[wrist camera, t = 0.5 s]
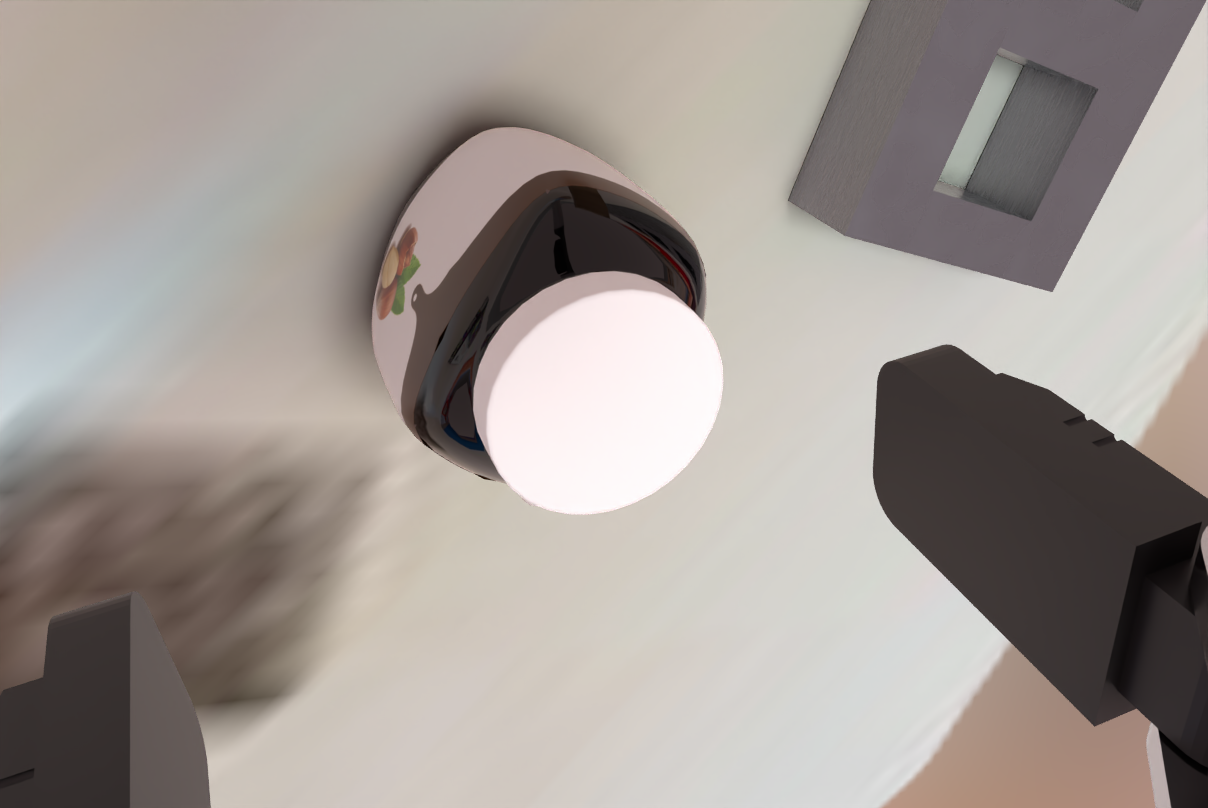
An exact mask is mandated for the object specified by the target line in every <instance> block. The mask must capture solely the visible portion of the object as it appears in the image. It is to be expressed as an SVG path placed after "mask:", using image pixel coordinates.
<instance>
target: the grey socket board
mask: <svg viewBox="0 0 1208 808" xmlns="http://www.w3.org/2000/svg"><path fill="white" fill-rule="evenodd" d="M1205 2H1206V0H871V2H870V5H869V7H868V9H867V12H866V14H865V17H864V19H863V21H862V24H861V26H860V29H859V31H858V33H857V36H856V38H855V41H854V43H853V46H852V48H851V50H850V53H849V55H848V58H847V60H846V62H845V65H844V67H843V70H842V72H841V74H840V77H839V79H838V82H837V84H836V87H835V89H834V91H833V94H832V96H831V99H830V101H829V103H828V106H827V108H826V111H825V113H824V115H823V118H822V120H821V123H820V125H819V128H818V130H817V132H816V135H815V137H814V140H813V142H812V144H811V147H810V149H809V152H808V154H807V156H806V159H805V161H804V164H803V166H802V169H801V171H800V173H799V176H798V178H797V181H796V183H795V185H794V188H793V190H792V193H791V195H790V197H789V201H790V202H792V203H793V204H795V205H797V206H798V207H800V208H801V209H803V210H805V211H806V212H808V213H809V214H811V215H813V216H814V217H816V218H817V219H819V220H821V221H822V222H824V223H825V224H827V225H828V226H830V227H832V228H833V229H835V230H836V231H838V232H840V233H841V234H843V235H844V236H848V237H852V238H855V239H859V240H863V241H866V242H870V243H874V244H877V245H881V246H885V247H888V248H892V249H896V250H900V251H903V252H907V253H911V254H914V255H918V256H922V257H925V258H929V259H933V260H936V261H940V262H944V263H947V264H951V265H955V266H958V267H962V268H966V269H969V270H973V271H977V272H980V273H984V274H988V275H992V276H995V277H999V278H1003V279H1006V280H1010V281H1014V282H1017V283H1021V284H1025V285H1028V286H1032V287H1036V288H1039V289H1043V290H1047V291H1050V292H1053V290H1054V288H1055V286H1056V284H1057V282H1058V280H1059V278H1060V277H1061V275H1062V273H1063V271H1064V269H1065V267H1066V265H1067V263H1068V261H1069V259H1070V258H1071V256H1072V254H1073V252H1074V250H1075V248H1076V246H1077V244H1078V242H1079V241H1080V239H1081V237H1082V235H1083V233H1084V231H1085V229H1086V227H1087V225H1088V223H1089V222H1090V220H1091V218H1092V216H1093V214H1094V212H1095V210H1096V208H1097V206H1098V205H1099V203H1100V201H1101V199H1102V197H1103V195H1104V193H1105V191H1106V189H1107V187H1108V186H1109V184H1110V182H1111V180H1112V178H1113V176H1114V174H1115V172H1116V170H1117V169H1118V167H1119V165H1120V163H1121V161H1122V159H1123V157H1124V155H1125V153H1126V151H1127V150H1128V148H1129V146H1130V144H1131V142H1132V140H1133V138H1134V136H1135V134H1136V133H1137V131H1138V129H1139V127H1140V125H1141V123H1142V121H1143V119H1144V117H1145V115H1146V114H1147V112H1148V110H1149V108H1150V106H1151V104H1152V102H1153V100H1154V98H1155V96H1156V95H1157V93H1158V91H1159V89H1160V87H1161V85H1162V83H1163V81H1164V79H1165V78H1166V76H1167V74H1168V72H1169V70H1170V68H1171V66H1172V64H1173V62H1174V60H1175V59H1176V57H1177V55H1178V53H1179V51H1180V49H1181V47H1182V45H1183V43H1184V42H1185V40H1186V38H1187V36H1188V34H1189V32H1190V30H1191V28H1192V26H1193V24H1194V23H1195V21H1196V19H1197V17H1198V15H1199V13H1200V11H1201V9H1202V7H1203V6H1204V4H1205ZM996 54H997V55H1000V56H1002V57H1005V58H1007V59H1009V60H1012V61H1014V62H1017V63H1019V64H1021V65H1024V68H1023V70H1022V72H1021V74H1020V76H1019V78H1018V80H1017V82H1016V84H1015V86H1014V88H1013V91H1012V93H1011V95H1010V97H1009V99H1008V101H1007V103H1006V105H1005V107H1004V109H1003V112H1002V114H1001V116H1000V118H999V120H998V122H997V124H996V126H995V128H994V130H993V133H992V135H991V137H990V139H989V141H988V143H987V145H986V147H985V149H984V151H983V153H982V156H981V158H980V160H979V162H978V164H977V166H976V168H975V170H974V172H973V174H972V177H971V179H970V181H969V183H968V185H967V187H966V189H962V188H959V187H956V186H953V185H950V184H947V183H943V182H940V181H938V179H939V177H940V175H941V173H942V170H943V168H944V166H945V164H946V162H947V160H948V158H949V155H950V153H951V151H952V149H953V147H954V145H955V143H956V140H957V138H958V136H959V134H960V132H961V130H962V128H963V125H964V123H965V121H966V119H967V117H968V115H969V112H970V110H971V108H972V106H973V104H974V102H975V100H976V97H977V95H978V93H979V91H980V89H981V87H982V85H983V82H984V80H985V78H986V76H987V74H988V72H989V70H990V67H991V65H992V63H993V61H994V59H995V57H996Z"/></svg>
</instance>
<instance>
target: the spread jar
mask: <svg viewBox="0 0 1208 808" xmlns="http://www.w3.org/2000/svg"><path fill="white" fill-rule="evenodd" d="M705 309H706V273H705V269H704V265H703V262H702V259H701V257H700V255H699V252H698V250H697V248H696V246H695V244H694V241H693V240H692V239H691V237H690V236H689V235H688V233H687V232H686V231H685V229H684V228H683V227H682V226H681V224H680V223H679V222H678V221H677V220H676V219H675V218H674V217H673V216H672V215H671V214H670V213H669V212H668V211H667V210H666V209H665V208H664V207H663V206H662V205H660V204H659V203H658V202H657V201H656V200H655V199H654V198H652V197H651V196H650V195H649V194H648V193H646V192H645V191H644V190H642V189H641V188H640V187H639V186H637V185H636V184H635V183H633V182H632V181H631V180H630V179H628V178H627V177H626V176H624V175H623V174H622V173H620V172H619V171H618V170H616V169H615V168H613V167H612V166H610V165H609V164H607V163H606V162H604V161H603V160H601V159H600V158H598V157H596V156H595V155H593V154H591V153H589V152H587V151H585V150H584V149H582V148H579V147H577V146H575V145H573V144H571V143H569V142H566V141H564V140H562V139H559V138H557V137H554V136H551V135H548V134H545V133H542V132H539V131H535V130H531V129H526V128H518V127H502V128H493V129H490V130H485V131H483V132H481V133H479V134H477V135H475V136H474V137H472V138H470V139H469V140H467V141H466V142H465V143H463V144H462V145H460V146H459V147H457V148H456V149H455V150H454V151H452V152H451V153H450V154H449V155H448V156H447V157H446V158H444V159H443V160H442V161H441V162H440V163H439V164H438V165H437V166H436V167H435V168H434V170H433V171H432V172H431V173H430V174H429V175H428V176H427V177H426V179H425V180H424V181H423V182H422V183H421V185H420V186H419V187H418V188H417V190H416V191H415V192H414V194H413V195H412V197H411V198H410V199H409V201H408V202H407V204H406V206H405V207H404V209H403V211H402V213H401V214H400V216H399V219H398V221H397V223H396V225H395V227H394V229H393V232H392V234H391V237H390V239H389V242H388V245H387V248H386V251H385V254H384V257H383V261H382V265H381V269H380V273H379V278H378V282H377V287H376V292H375V298H374V304H373V311H372V340H373V349H374V354H375V358H376V361H377V364H378V367H379V369H380V372H381V375H382V378H383V380H384V383H385V385H386V387H387V390H388V392H389V394H390V397H391V399H392V401H393V404H394V406H395V408H396V410H397V412H398V414H399V416H400V417H401V419H402V420H403V421H404V423H405V424H406V425H407V427H408V428H409V429H410V431H411V432H412V433H413V434H414V436H415V437H416V438H417V439H418V440H420V441H421V442H422V443H423V444H424V445H426V446H427V447H428V448H430V449H431V450H433V451H434V452H436V453H437V454H439V455H440V456H441V457H443V458H445V459H446V460H448V461H450V462H451V463H453V464H455V465H457V466H459V467H461V468H463V469H465V470H467V471H469V472H472V473H474V474H476V475H478V476H479V477H481V478H483V479H486V480H493V481H498V482H502V483H506V484H508V485H509V487H510V488H511V489H512V490H513V491H515V492H516V493H517V494H519V495H520V496H521V498H522V499H523V500H524V501H525V502H526V503H528V504H529V505H534V506H539V507H541V508H544V509H546V510H550V511H555V512H559V513H564V514H585V515H589V514H595V513H602V512H608V511H612V510H615V509H618V508H621V507H624V506H628V505H631V504H633V503H635V502H637V501H639V500H641V499H643V498H645V497H647V496H649V495H651V494H653V493H654V492H656V491H657V490H658V489H660V488H661V487H663V486H664V485H665V484H667V483H668V482H670V481H671V480H672V479H673V478H674V477H675V476H676V475H677V474H678V473H679V472H681V471H682V470H683V469H684V468H685V467H686V466H687V465H688V464H689V462H690V461H691V460H692V459H693V457H694V456H695V455H696V453H697V452H698V451H699V449H700V448H701V447H702V445H703V444H704V442H705V440H706V438H707V436H708V434H709V433H710V431H711V429H712V427H713V425H714V422H715V419H716V416H717V413H718V410H719V407H720V404H721V397H722V390H723V364H722V360H721V356H720V353H719V349H718V345H717V343H716V341H715V339H714V337H713V335H712V334H711V332H710V330H709V328H708V326H707V325H706V324H705V323H704V316H705Z"/></svg>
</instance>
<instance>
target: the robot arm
mask: <svg viewBox="0 0 1208 808" xmlns="http://www.w3.org/2000/svg"><path fill="white" fill-rule="evenodd" d="M873 479H874V485H875V490H876V493H877V497H878V499H879V502H880V504H881V506H882V508H883V510H884V512H885V514H886V515H887V517H888V518H889V520H890V521H891V522H892V524H893V525H894V526H895V527H896V528H897V529H898V530H899V531H900V532H901V533H902V534H903V535H904V536H905V537H906V538H907V539H908V540H909V541H910V542H911V543H912V544H913V545H914V546H915V547H916V548H917V549H918V550H919V551H920V552H921V553H922V554H923V555H924V556H925V557H926V558H927V559H928V560H929V561H930V562H931V563H932V564H933V565H934V566H935V567H936V568H937V569H938V570H939V571H940V572H941V573H942V574H943V575H944V576H945V577H946V578H947V579H948V580H949V581H950V582H951V583H952V584H953V585H954V586H955V587H956V588H957V589H958V590H959V591H960V592H961V593H962V594H963V595H964V596H965V597H966V598H967V599H968V600H969V601H970V602H971V603H972V604H973V605H974V606H975V607H976V608H977V609H978V610H979V611H980V612H981V613H982V614H983V615H984V616H985V617H986V618H987V619H988V620H989V621H990V622H991V623H992V624H993V625H994V626H995V627H996V628H997V629H998V630H999V631H1000V632H1001V633H1002V634H1003V635H1004V636H1005V637H1006V638H1007V639H1008V640H1009V641H1010V642H1011V643H1012V644H1013V645H1014V646H1015V647H1016V648H1017V649H1018V650H1019V651H1020V652H1021V653H1022V654H1023V655H1024V656H1025V657H1026V658H1027V659H1028V660H1029V661H1030V662H1031V663H1032V664H1033V665H1034V666H1035V667H1036V668H1037V669H1038V670H1039V671H1040V672H1041V673H1042V674H1043V675H1044V676H1045V677H1046V678H1047V679H1048V680H1049V681H1050V682H1051V683H1052V684H1053V685H1054V686H1055V687H1056V688H1057V689H1058V690H1059V691H1060V692H1061V693H1062V694H1063V695H1064V696H1065V697H1066V698H1067V699H1068V700H1069V701H1070V702H1071V703H1072V704H1073V705H1074V706H1075V707H1076V708H1077V709H1078V710H1079V711H1080V712H1081V713H1082V714H1083V715H1084V716H1085V717H1086V718H1087V719H1088V720H1089V721H1090V722H1091V723H1092V724H1093V725H1094V726H1097V725H1099V724H1101V723H1103V722H1106V721H1108V720H1110V719H1113V718H1115V717H1118V716H1120V715H1122V714H1125V713H1127V712H1129V711H1132V710H1134V709H1136V708H1137V709H1138V710H1139V711H1140V712H1141V713H1142V714H1143V715H1144V716H1145V717H1146V718H1148V720H1150V721H1151V724H1150V727H1149V731H1148V735H1147V740H1146V742H1147V754H1148V760H1149V767H1150V773H1151V779H1152V787H1153V793H1154V799H1155V806H1156V808H1208V498H1206V497H1205V496H1203V495H1202V494H1200V493H1199V492H1197V491H1196V490H1194V489H1193V488H1191V487H1190V486H1188V485H1187V484H1186V483H1184V482H1183V481H1181V480H1180V479H1178V478H1177V477H1175V476H1174V475H1173V474H1171V473H1170V472H1168V471H1166V470H1165V469H1164V468H1162V467H1161V466H1159V465H1158V464H1156V463H1155V462H1153V461H1152V460H1151V459H1149V458H1148V457H1146V456H1145V455H1143V454H1142V453H1140V452H1139V451H1137V450H1136V449H1135V448H1133V447H1132V446H1130V445H1129V444H1127V443H1126V442H1124V441H1123V440H1120V441H1116V440H1115V438H1114V434H1113V433H1111V432H1110V431H1108V430H1107V429H1105V428H1104V427H1102V426H1101V425H1100V424H1098V423H1097V422H1095V421H1094V420H1092V419H1091V420H1088V421H1087V420H1086V418H1085V414H1083V413H1082V412H1081V411H1079V410H1078V409H1076V408H1075V407H1073V406H1072V405H1070V404H1069V403H1067V402H1066V401H1065V400H1063V399H1062V398H1060V397H1059V396H1057V395H1056V394H1054V393H1053V392H1051V391H1050V390H1048V389H1046V388H1043V387H1040V386H1037V385H1034V384H1032V383H1029V382H1026V381H1023V380H1020V379H1018V378H1015V377H1012V376H1009V375H1006V374H1004V373H1000V374H997V375H996V374H994V373H993V372H992V371H990V370H989V369H987V368H986V367H985V366H983V365H982V364H980V363H979V362H977V361H976V360H975V359H973V358H972V357H970V356H969V355H968V354H966V353H965V352H963V351H962V350H961V349H959V348H957V347H955V346H952V345H942V346H938V347H935V348H932V349H929V350H925V351H922V352H919V353H916V354H912V355H909V356H906V357H903V358H899V359H896V360H893V361H890V362H887V363H886V364H884V365H883V367H882V368H881V370H880V372H879V375H878V381H877V398H876V419H875V439H874V460H873ZM0 808H211V806H210V793H209V779H208V766H207V757H206V751H205V745H204V741H203V736H202V732H201V728H200V725H199V721H198V718H197V715H196V712H195V709H194V706H193V704H192V701H191V699H190V697H189V694H188V692H187V690H186V688H185V686H184V684H183V682H182V679H181V677H180V675H179V673H178V671H177V669H176V666H175V664H174V662H173V660H172V658H171V656H170V654H169V651H168V649H167V647H166V645H165V643H164V641H163V638H162V636H161V634H160V632H159V630H158V628H157V626H156V623H155V621H154V619H153V617H152V615H151V613H150V610H149V608H148V606H147V604H146V602H145V601H144V599H143V598H142V596H141V595H140V594H139V593H138V592H136V591H134V592H131V593H128V594H125V595H121V596H118V597H115V598H111V599H108V600H105V601H102V602H98V603H95V604H92V605H89V606H85V607H82V608H79V609H76V610H72V611H69V612H66V613H63V614H59V615H56V616H54V617H52V618H51V620H50V622H49V627H48V634H47V645H46V655H45V665H44V675H43V678H40V679H37V680H34V681H30V682H27V683H24V684H21V685H18V686H15V687H12V688H9V689H5V690H3V692H2V693H1V695H0Z"/></svg>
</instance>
